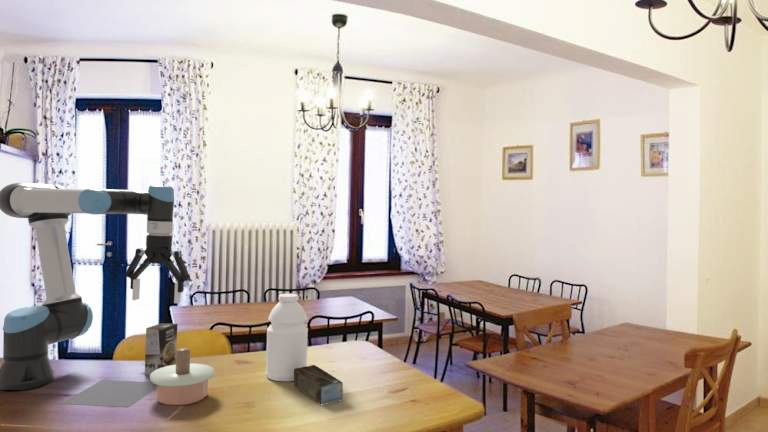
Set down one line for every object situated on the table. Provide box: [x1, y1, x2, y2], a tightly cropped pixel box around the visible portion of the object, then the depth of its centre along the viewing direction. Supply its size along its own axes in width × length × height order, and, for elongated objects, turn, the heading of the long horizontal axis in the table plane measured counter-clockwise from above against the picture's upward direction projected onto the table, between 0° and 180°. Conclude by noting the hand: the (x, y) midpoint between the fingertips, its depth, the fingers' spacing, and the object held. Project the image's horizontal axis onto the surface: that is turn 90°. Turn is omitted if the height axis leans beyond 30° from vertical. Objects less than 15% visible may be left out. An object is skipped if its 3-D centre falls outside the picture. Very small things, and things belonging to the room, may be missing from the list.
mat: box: [60, 379, 157, 408], centre depth 155 cm, size 20×20×1 cm
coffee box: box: [144, 322, 178, 376], centre depth 176 cm, size 9×6×16 cm
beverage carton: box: [293, 364, 344, 405], centre depth 161 cm, size 8×19×7 cm, turn 35°
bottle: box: [265, 293, 309, 382], centre depth 177 cm, size 14×14×28 cm
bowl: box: [156, 380, 209, 406], centre depth 154 cm, size 14×14×6 cm
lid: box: [149, 347, 215, 387], centre depth 154 cm, size 18×18×8 cm
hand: (156, 301), depth 162 cm, fingers open, 13 cm apart
